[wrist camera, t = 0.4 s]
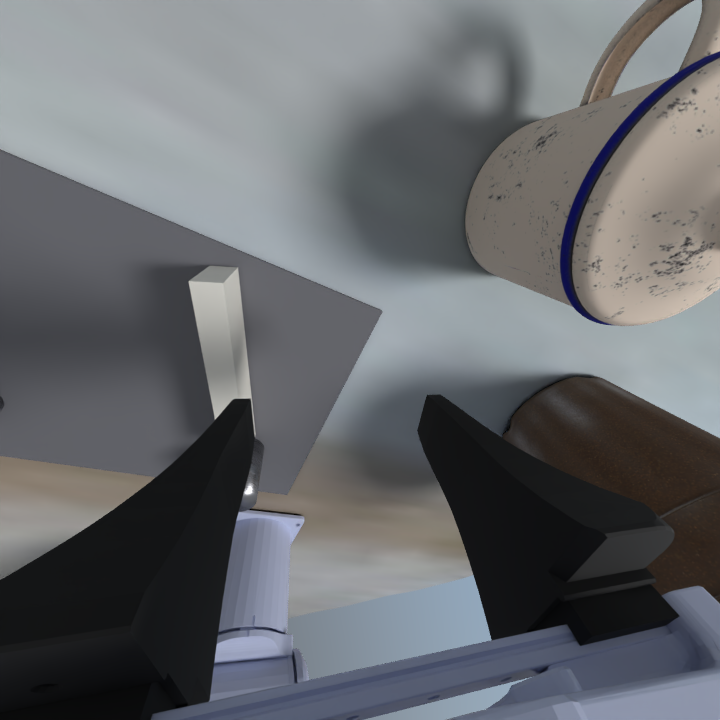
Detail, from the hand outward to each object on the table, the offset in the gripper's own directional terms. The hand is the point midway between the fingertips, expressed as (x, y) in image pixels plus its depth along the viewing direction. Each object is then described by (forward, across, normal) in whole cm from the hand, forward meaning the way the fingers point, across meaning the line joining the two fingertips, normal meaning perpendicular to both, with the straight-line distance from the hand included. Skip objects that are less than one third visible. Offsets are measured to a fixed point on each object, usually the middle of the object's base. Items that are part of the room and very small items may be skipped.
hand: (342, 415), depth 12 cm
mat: (+9, +10, +4) cm, 14 cm away
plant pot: (+10, -24, +10) cm, 28 cm away
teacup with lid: (+10, -12, -10) cm, 18 cm away
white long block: (+9, +6, +3) cm, 11 cm away
